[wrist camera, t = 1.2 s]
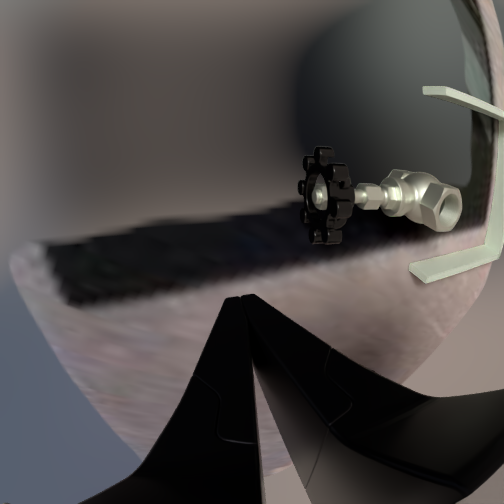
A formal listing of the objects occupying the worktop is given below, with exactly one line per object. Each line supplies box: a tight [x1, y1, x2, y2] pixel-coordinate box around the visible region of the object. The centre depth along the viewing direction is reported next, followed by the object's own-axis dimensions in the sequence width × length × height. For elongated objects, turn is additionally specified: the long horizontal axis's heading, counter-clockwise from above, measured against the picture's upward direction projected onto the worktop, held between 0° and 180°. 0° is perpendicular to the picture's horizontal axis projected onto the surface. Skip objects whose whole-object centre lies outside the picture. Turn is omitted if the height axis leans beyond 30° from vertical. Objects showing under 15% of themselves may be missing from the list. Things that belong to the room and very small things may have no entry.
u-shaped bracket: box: [409, 86, 504, 284], centre depth 23 cm, size 19×16×3 cm
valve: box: [298, 146, 462, 244], centre depth 19 cm, size 7×7×12 cm
